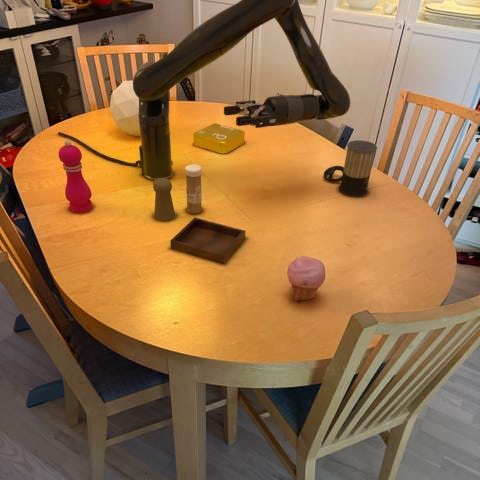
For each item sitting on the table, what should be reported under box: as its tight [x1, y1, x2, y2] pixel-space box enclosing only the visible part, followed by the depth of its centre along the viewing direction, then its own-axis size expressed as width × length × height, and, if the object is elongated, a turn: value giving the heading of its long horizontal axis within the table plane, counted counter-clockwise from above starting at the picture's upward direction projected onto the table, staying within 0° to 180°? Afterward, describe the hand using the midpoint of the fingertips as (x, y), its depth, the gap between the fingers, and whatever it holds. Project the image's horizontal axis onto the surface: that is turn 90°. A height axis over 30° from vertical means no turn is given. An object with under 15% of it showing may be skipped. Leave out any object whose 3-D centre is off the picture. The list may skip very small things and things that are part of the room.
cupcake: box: [286, 255, 326, 302], centre depth 107 cm, size 9×9×10 cm
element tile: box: [193, 122, 246, 155], centre depth 177 cm, size 15×15×5 cm
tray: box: [169, 217, 247, 265], centre depth 125 cm, size 16×14×2 cm
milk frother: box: [323, 139, 378, 197], centre depth 150 cm, size 14×16×15 cm
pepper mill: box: [58, 139, 93, 214], centre depth 131 cm, size 7×7×20 cm
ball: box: [109, 79, 141, 137], centre depth 177 cm, size 19×20×20 cm
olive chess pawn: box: [152, 178, 176, 222], centre depth 132 cm, size 6×6×11 cm
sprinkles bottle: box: [184, 163, 203, 215], centre depth 135 cm, size 5×5×14 cm
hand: (230, 116), depth 125 cm, fingers open, 8 cm apart
